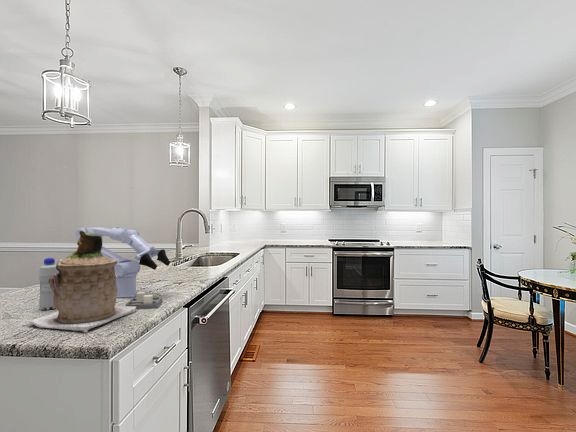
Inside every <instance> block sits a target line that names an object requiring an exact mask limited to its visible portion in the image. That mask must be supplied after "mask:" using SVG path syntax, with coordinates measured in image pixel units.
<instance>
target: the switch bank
mask: <svg viewBox="0 0 576 432" xmlns="http://www.w3.org/2000/svg"><path fill="white" fill-rule="evenodd" d="M135 297H136V296H135ZM135 297H131V299H129V300H128V301H127V302H126V303H125V306H134V307H136V310H149V309H159V307H160V305H161V304H162V303H163V296H161V295H160V296H159V297H156V296H155V297H154V296H153V303H152V304H143V300H137V297H136V298H135Z"/></svg>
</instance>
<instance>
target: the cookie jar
mask: <svg viewBox="0 0 576 432" xmlns="http://www.w3.org/2000/svg"><path fill="white" fill-rule="evenodd" d="M76 245H77V249H76V250H75V251H74V252H72V253H71V254H69V255H67V256H66V257H65V258H64V259H59V260H58V261H57V262H56V263H57V264H56V269H57V270H58V271H59V273H58V274H57V273H55V274H54V275H53V276H54V277H51V278H50V279H49V281H48V283H49V285H50V287H51V289H52V291H53V292H54V297H53V305H54V307H55V309H56V310H57V312H54V313H51V314H47V315H45V316H42V317H38V318H33V319H28V320H26V322H27V323H28V324H32V325H34V326H36V327H37V328H42V329H43V328H45V329H46V328H47V329H56V330H67V331H75V332H76V331H77V332H83V333H86V334H87V333H89V331H90V330H91V329H94V328H95V327H99V326H102V325H104V324H106V323H109V322H111V321H114V320H116V319H119V318H121V317H124V316H128V315H130V314H133V313H135V311H136V310H137V309H136V307H134V306H126V305H116V303H117V298H116V297H117V287H116V286H117V285H116V277H117V275H116V274H115V268H114V267H115V265H116V264H117V262H118V261H117V260H116V259H110V258H108V257H106V256H103V255H102V254H101V252H100V251H101V248H102V246H103V237H102V238H101V237H100V236H98V235H96V234H91V233H87V232H84V231H80V238H79V240H78V241H77V243H76Z"/></svg>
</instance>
